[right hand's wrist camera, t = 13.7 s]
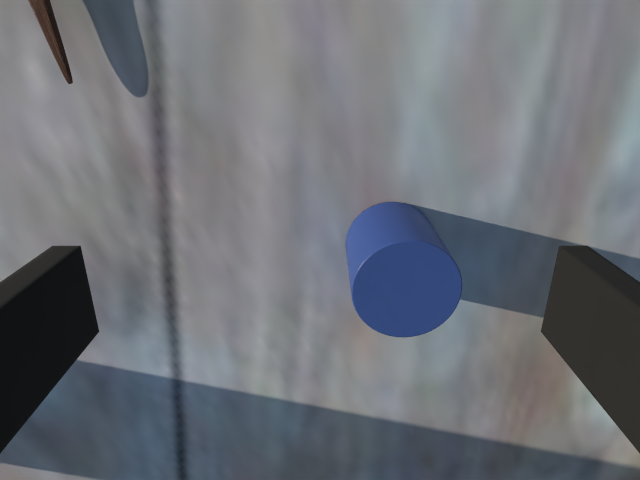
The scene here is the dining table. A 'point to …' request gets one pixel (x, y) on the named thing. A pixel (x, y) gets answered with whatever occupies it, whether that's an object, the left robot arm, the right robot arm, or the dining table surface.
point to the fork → (51, 34)
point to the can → (400, 271)
